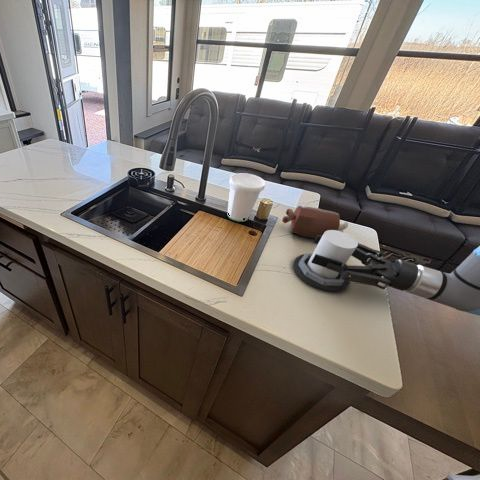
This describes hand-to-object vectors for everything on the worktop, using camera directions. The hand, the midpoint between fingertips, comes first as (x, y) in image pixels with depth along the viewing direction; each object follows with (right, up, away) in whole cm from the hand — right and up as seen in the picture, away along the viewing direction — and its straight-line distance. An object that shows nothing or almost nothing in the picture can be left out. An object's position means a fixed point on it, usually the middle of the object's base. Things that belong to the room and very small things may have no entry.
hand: (314, 248), depth 73 cm
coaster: (+3, -8, +3) cm, 9 cm away
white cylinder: (+3, -7, +3) cm, 8 cm away
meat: (+9, +4, +19) cm, 22 cm away
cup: (-14, +12, +27) cm, 33 cm away
